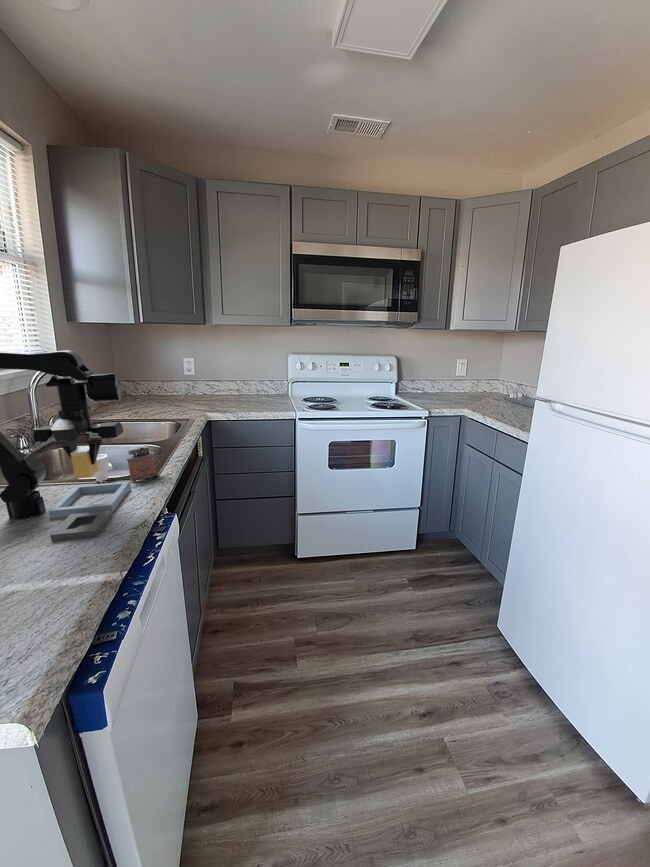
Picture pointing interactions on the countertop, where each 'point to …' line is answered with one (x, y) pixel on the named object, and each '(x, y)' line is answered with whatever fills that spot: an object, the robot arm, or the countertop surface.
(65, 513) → the parts tray
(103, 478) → the pipe fitting
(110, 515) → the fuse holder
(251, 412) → the countertop surface
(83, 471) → the yellow and white block
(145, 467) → the lighter
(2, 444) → the robot arm
